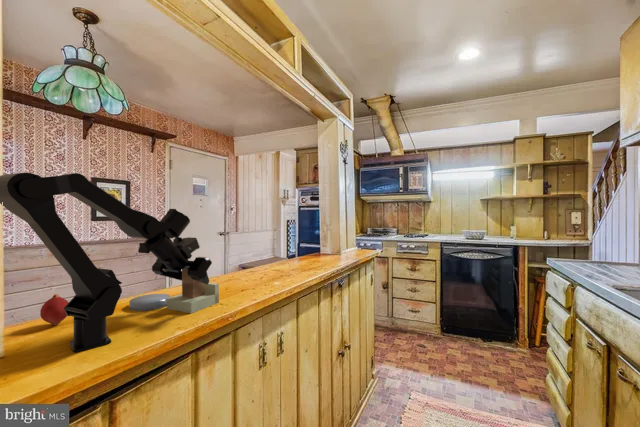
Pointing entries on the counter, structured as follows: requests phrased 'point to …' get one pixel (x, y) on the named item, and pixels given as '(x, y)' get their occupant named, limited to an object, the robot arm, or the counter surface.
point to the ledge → (195, 300)
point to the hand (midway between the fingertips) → (196, 281)
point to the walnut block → (191, 286)
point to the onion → (54, 310)
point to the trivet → (148, 302)
